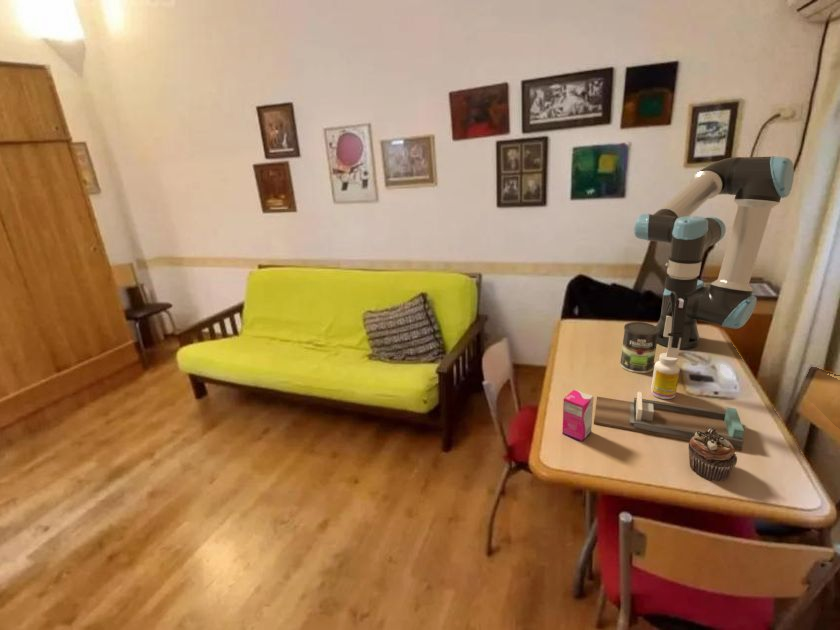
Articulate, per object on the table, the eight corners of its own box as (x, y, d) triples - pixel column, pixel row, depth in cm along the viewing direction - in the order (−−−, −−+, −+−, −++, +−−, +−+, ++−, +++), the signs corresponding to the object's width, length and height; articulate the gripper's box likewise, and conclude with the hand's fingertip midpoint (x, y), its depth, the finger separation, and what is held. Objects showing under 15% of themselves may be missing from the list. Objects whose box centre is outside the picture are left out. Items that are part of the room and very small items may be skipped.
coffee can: (654, 375, 142) (660, 336, 136) (620, 371, 146) (624, 332, 140) (652, 360, 150) (657, 323, 145) (619, 357, 154) (623, 320, 149)
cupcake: (715, 489, 97) (724, 453, 93) (675, 463, 105) (682, 429, 101) (743, 475, 100) (752, 439, 97) (702, 450, 109) (710, 416, 105)
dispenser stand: (596, 398, 132) (598, 385, 130) (731, 420, 118) (734, 405, 117) (593, 423, 121) (595, 409, 119) (741, 450, 108) (745, 434, 106)
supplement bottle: (678, 400, 128) (685, 362, 123) (653, 399, 130) (659, 361, 125) (671, 388, 134) (677, 351, 129) (647, 387, 136) (653, 350, 131)
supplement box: (571, 423, 122) (573, 388, 118) (591, 432, 118) (595, 396, 114) (560, 433, 118) (563, 397, 114) (581, 442, 114) (584, 406, 110)
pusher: (635, 405, 126) (637, 391, 124) (651, 407, 124) (653, 393, 122) (636, 423, 118) (638, 409, 116) (652, 426, 117) (655, 412, 115)
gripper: (663, 262, 130) (653, 327, 137) (669, 289, 109) (657, 364, 117) (692, 263, 127) (681, 330, 134) (704, 291, 106) (690, 368, 114)
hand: (670, 346), depth 126 cm, fingers open, 13 cm apart
